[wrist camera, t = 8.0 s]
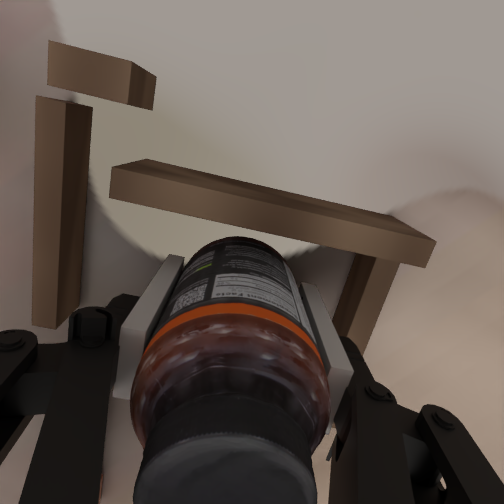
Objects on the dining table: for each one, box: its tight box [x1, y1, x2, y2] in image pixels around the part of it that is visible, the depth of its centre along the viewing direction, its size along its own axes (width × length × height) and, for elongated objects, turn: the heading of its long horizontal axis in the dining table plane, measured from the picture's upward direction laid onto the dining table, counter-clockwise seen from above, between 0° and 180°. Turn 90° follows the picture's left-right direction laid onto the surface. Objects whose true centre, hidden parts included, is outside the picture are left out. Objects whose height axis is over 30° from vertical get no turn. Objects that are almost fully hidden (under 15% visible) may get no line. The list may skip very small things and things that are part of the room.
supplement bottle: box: [130, 236, 331, 504], centre depth 12 cm, size 6×6×11 cm
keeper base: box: [32, 40, 436, 428], centre depth 16 cm, size 17×14×4 cm
